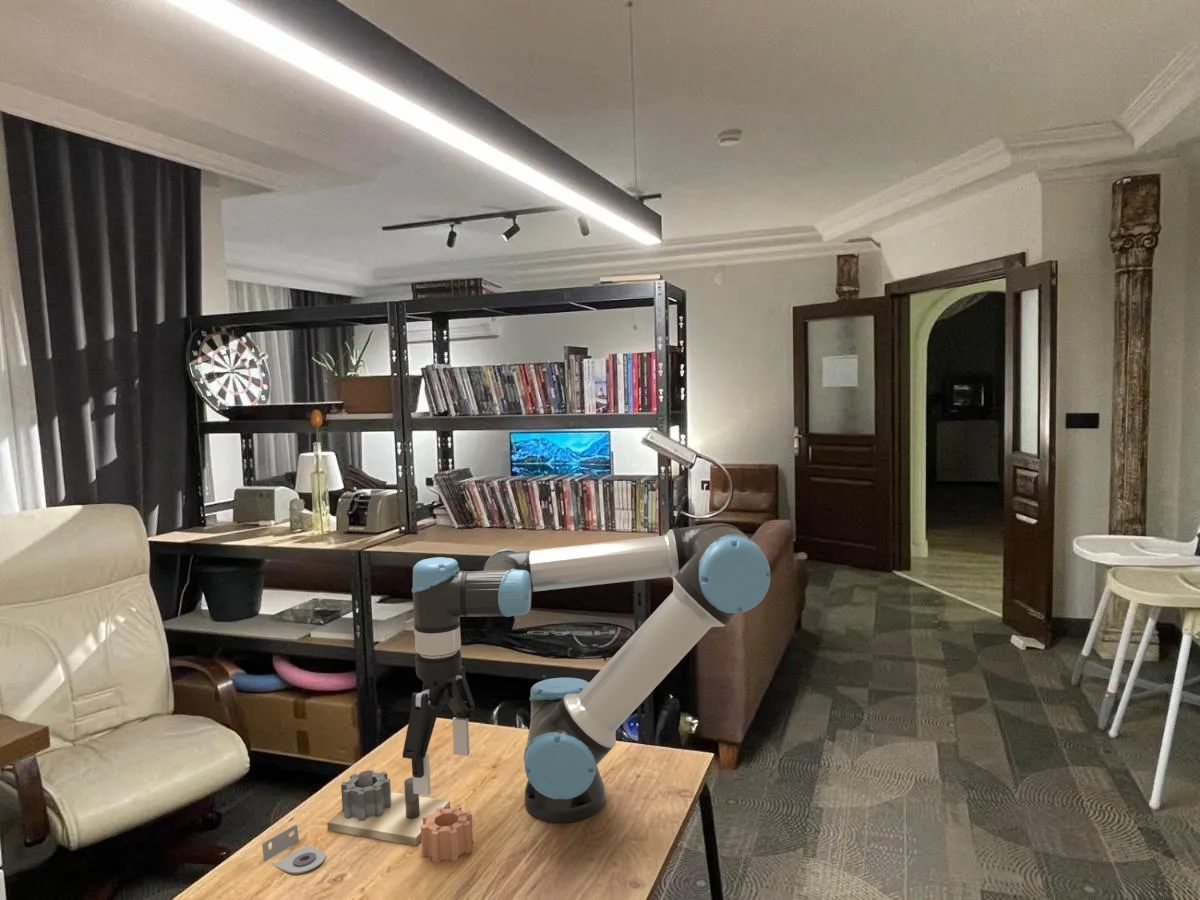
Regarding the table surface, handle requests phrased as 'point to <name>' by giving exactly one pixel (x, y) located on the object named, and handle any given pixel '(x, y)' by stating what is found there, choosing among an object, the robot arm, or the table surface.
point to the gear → (446, 834)
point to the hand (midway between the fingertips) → (442, 773)
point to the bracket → (295, 859)
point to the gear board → (382, 809)
